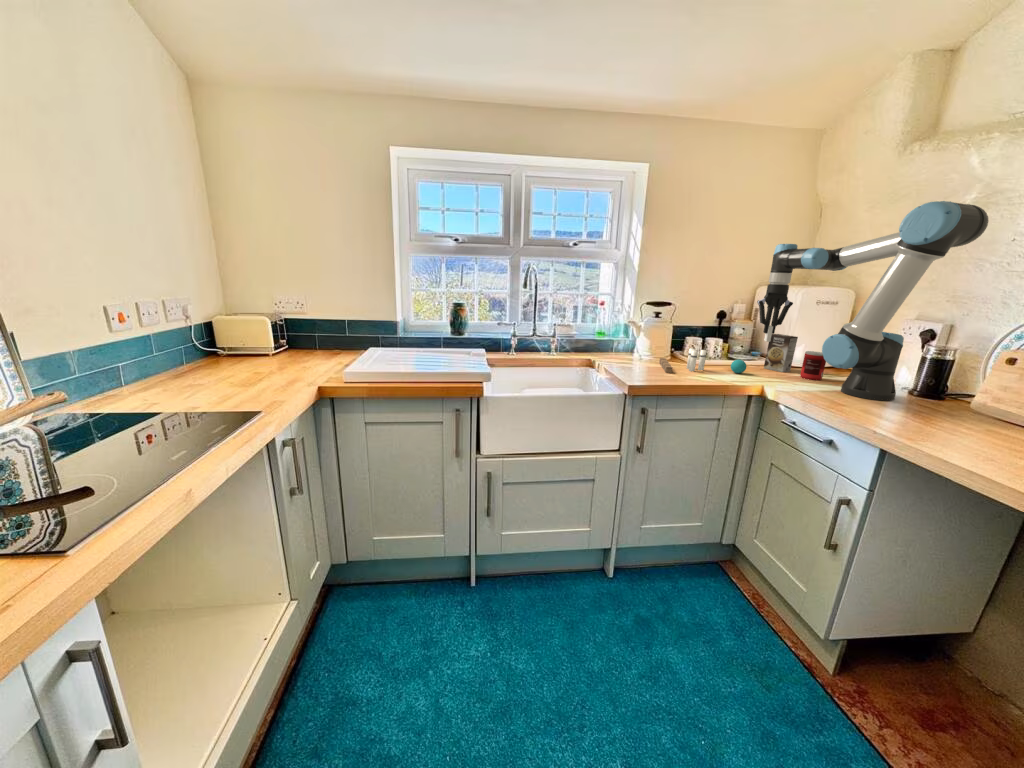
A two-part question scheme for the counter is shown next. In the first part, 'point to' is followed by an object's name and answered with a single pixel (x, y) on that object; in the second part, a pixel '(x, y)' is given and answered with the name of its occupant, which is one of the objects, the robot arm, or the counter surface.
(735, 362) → the ball
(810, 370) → the canned food
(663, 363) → the rail
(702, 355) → the front pin
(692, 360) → the back pin near
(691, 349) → the back pin far
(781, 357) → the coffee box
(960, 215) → the robot arm
